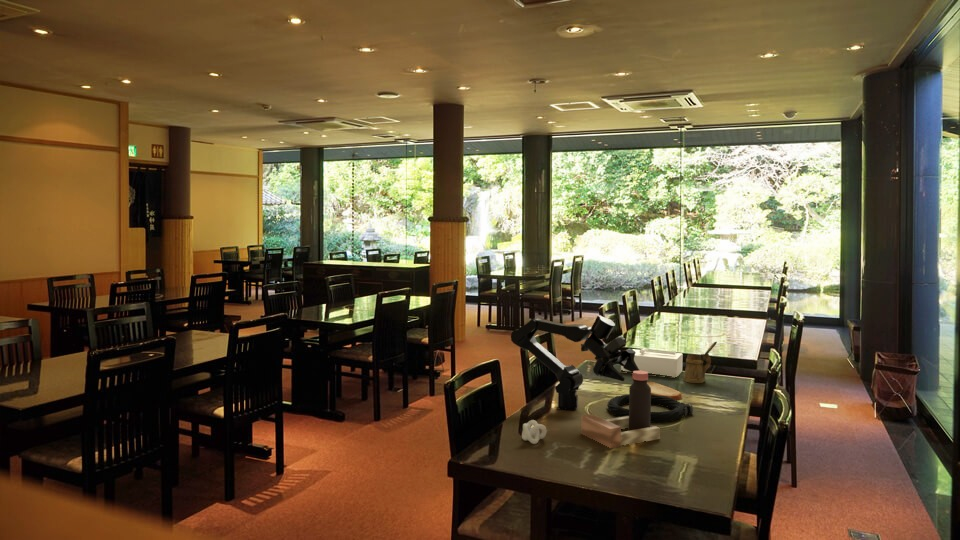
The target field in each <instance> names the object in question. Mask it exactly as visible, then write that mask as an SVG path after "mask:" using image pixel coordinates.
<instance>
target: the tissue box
mask: <svg viewBox="0 0 960 540" xmlns="http://www.w3.org/2000/svg"><path fill="white" fill-rule="evenodd" d="M631 349H632V350H634V351H635V352H636V353H635V357H634V361H635V363H636V365H637V367H638V369H639V370H640V371H646V372H648V373H652V374H660V375H667V376H672V377H671V378H675V377H677V376H678V377H679V375H680V374H681V373H682V372H683V356H684V355H683V353H680V352H676V351H672V350H671V351H669V350H655V349H653V350H651V349H649V348H647V347H643V348H641V349H633V348H631ZM621 370H623V371H629V370H626V369H624V368H623V366H621V365H620V371H621ZM678 377H677V378H678Z"/></svg>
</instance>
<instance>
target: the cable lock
mask: <svg viewBox="0 0 960 540" xmlns="http://www.w3.org/2000/svg"><path fill="white" fill-rule="evenodd" d="M626 403H629V393H628V394H627V393H626V394H622V395H617V396H615V397H612V398H610V400H609V401H608V402H607V405H606V406H607V410H608V411H609V412H610V413H611V414H613V415H614V414H615V417H618V416H619V417H625V416H629V408H626V407H622V406H623V405H627V404H626ZM622 404H623V405H622ZM658 404H660V405H659V406H662V405H663V406H662V407H667V408H669V407H670V408H669V409H671V408H672V409H671V410H665V411H651V420H650V423H663V422H664V421H668V422H672V420H673V421H676V420H679V419H681V418H683V417H686V416H690V415H691V416H692V415H693V413H694V407H693V404H690V403H684V402H680V401H679V400H674V399H672V398H668V397H665V396H657V395H651V405H658ZM619 405H620V406H619ZM619 417H618V418H619Z"/></svg>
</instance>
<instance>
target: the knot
mask: <svg viewBox="0 0 960 540" xmlns="http://www.w3.org/2000/svg"><path fill="white" fill-rule="evenodd" d="M531 426H532V427H531ZM540 430H541V433H540ZM546 436H547V427H546V426H545V425H543V424H541V423H538V422H537V421H536V419H535V420H534V419H531V420H529V421H528V422H525V423H523V424H522V431H521V438H522V440H523V441H528V442H529V443H531V444H533V445H536V444H537V443H538V442H539V441H540V440H541V439H544V438H545V437H546Z"/></svg>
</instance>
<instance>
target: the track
mask: <svg viewBox="0 0 960 540" xmlns="http://www.w3.org/2000/svg"><path fill="white" fill-rule="evenodd" d="M580 421H581V422H580V423H581V426H580V428H581V429H580V430H581V431H580V432H581V435H582V434H583V436H584V435H585V436H584V437H586V436H587V437H586V438H588V439H591V440H592V439H593V440H592V441H594V440H595V442H596V441H597V442H596V443H598V442H599V443H598V444H600V443H601V444H600V445H602V444H603V445H602V446H604V445H605V446H604V447H606V446H607V447H606V448H608V447H609V448H608V449H615V448H620V447H619V446H621V445H624V446H627V445H626V444H629V445H634V444H633V443H635V444H638V442H640V443H644V441H646V442H649V441H655V440H656V441H657V440H661V439H660V438H661V428H660V427H658V426H656V425H655V426H650V427H648V428H642V429H637V430H631V431H629V430H627V431H622V430H621V429H623V430H626V429H625V428H629V416H625V417H613V418H608V419H607V418H606V419H603V418H602V417H599V416H597V415H595V414H592V413H589V414H584V415H581V420H580ZM614 447H615V448H614ZM621 447H622V446H621Z"/></svg>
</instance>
